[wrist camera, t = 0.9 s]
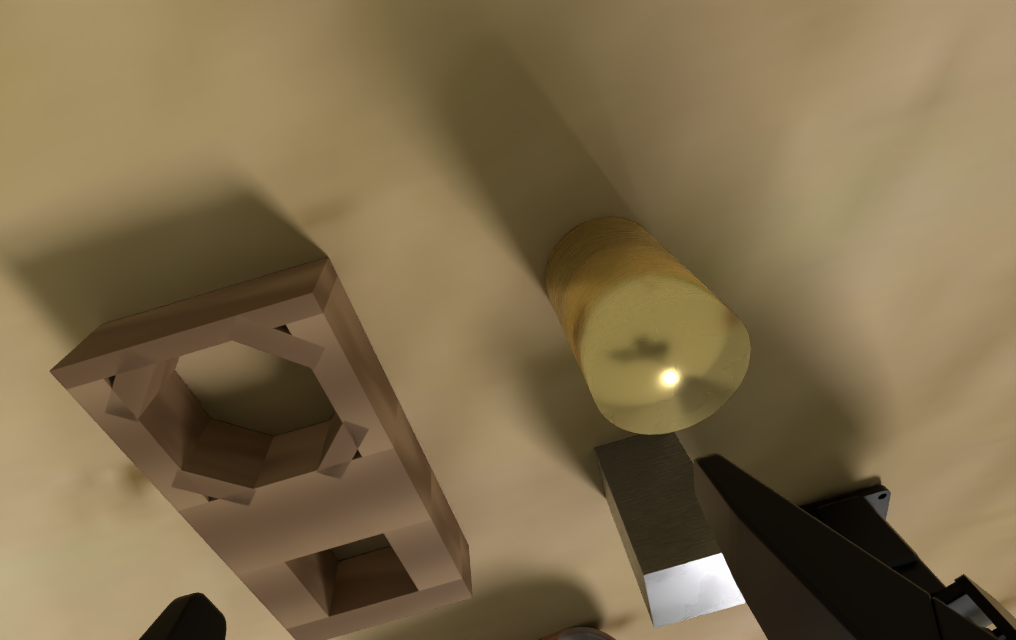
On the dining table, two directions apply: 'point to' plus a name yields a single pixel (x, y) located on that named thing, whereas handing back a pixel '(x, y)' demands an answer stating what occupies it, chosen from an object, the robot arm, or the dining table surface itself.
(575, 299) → the round bit
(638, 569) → the square bit
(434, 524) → the bore block
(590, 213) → the dining table surface
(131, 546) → the dining table surface
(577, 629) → the tin
